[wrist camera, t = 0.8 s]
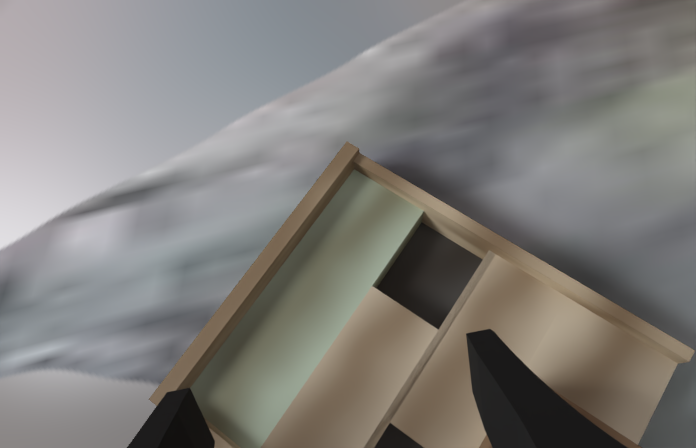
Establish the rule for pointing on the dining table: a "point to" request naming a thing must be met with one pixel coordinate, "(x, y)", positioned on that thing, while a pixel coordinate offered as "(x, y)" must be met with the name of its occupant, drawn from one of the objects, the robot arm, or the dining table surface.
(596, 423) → the walnut block
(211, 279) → the dining table surface
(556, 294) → the divided beige tray
